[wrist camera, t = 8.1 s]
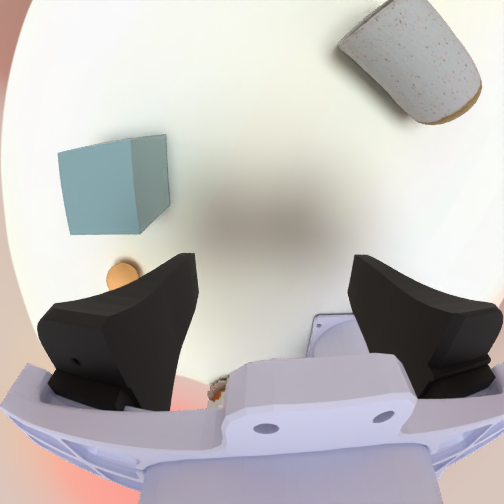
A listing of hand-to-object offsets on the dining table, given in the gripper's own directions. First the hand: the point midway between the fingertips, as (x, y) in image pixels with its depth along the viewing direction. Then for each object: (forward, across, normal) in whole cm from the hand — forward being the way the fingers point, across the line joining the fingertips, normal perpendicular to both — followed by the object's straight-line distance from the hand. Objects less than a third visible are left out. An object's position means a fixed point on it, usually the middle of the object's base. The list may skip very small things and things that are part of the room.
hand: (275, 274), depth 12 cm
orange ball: (+9, +12, +5) cm, 16 cm away
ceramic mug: (+10, -10, -14) cm, 20 cm away
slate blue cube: (+9, +10, -3) cm, 14 cm away
